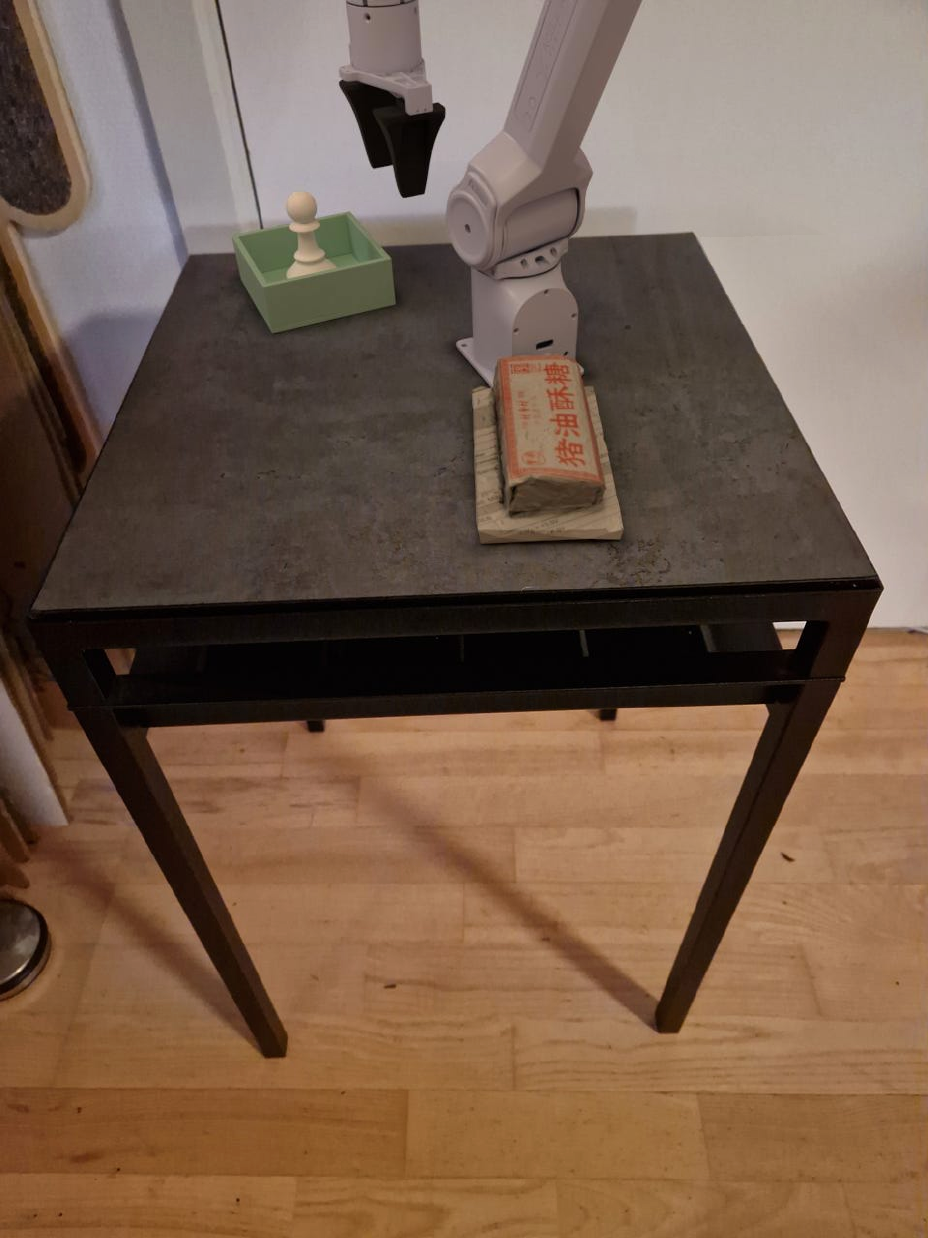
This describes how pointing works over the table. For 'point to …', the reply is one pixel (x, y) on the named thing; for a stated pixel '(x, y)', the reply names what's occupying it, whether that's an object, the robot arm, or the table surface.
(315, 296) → the open green box
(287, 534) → the table surface
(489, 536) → the packaged product
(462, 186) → the robot arm
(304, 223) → the chess pawn
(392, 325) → the table surface
